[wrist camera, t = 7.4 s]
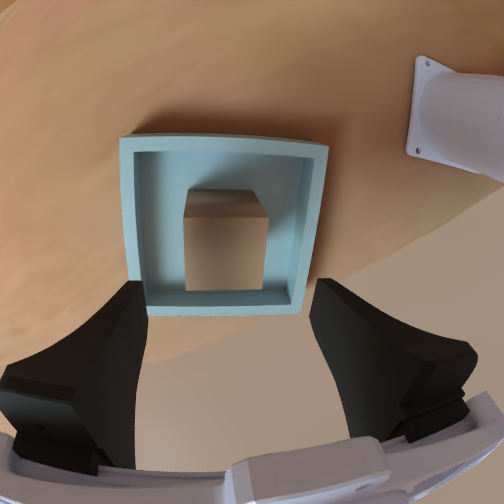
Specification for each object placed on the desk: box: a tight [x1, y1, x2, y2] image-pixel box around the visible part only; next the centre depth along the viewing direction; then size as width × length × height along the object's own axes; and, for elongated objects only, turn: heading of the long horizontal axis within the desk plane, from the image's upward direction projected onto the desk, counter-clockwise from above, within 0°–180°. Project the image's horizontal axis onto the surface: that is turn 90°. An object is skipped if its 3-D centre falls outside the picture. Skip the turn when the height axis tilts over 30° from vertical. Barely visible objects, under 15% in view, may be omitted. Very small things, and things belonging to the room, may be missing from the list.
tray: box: [120, 133, 329, 316], centre depth 19 cm, size 12×12×2 cm
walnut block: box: [183, 189, 269, 291], centre depth 17 cm, size 4×4×5 cm
